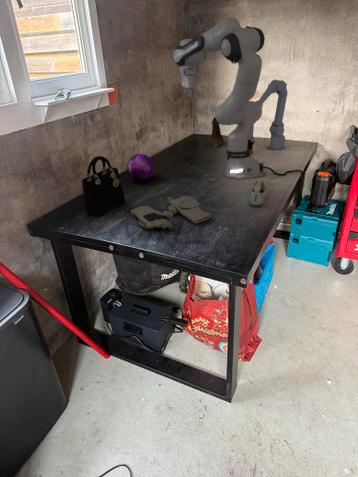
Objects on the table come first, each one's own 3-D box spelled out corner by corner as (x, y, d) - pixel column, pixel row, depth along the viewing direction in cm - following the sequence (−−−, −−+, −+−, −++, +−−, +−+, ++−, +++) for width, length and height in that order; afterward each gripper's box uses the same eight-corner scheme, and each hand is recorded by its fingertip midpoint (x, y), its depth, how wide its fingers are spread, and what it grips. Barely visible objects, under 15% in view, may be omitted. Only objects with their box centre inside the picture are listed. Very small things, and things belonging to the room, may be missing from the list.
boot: (224, 140, 260) (225, 113, 250) (221, 148, 240) (222, 119, 230) (213, 140, 262) (213, 113, 252) (210, 148, 242) (209, 119, 232)
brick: (250, 151, 230) (250, 144, 228) (252, 152, 227) (252, 146, 225) (243, 151, 230) (243, 145, 227) (245, 153, 226) (245, 146, 224)
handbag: (98, 217, 149) (87, 164, 137) (84, 214, 154) (72, 161, 141) (127, 201, 164) (120, 151, 152) (113, 198, 169) (105, 149, 156)
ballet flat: (269, 188, 169) (270, 173, 165) (265, 208, 149) (266, 191, 145) (252, 187, 171) (253, 172, 167) (246, 206, 151) (247, 190, 147)
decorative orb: (160, 177, 192) (157, 152, 184) (144, 186, 181) (141, 159, 174) (139, 174, 199) (137, 149, 192) (123, 182, 189) (119, 156, 181)
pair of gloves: (147, 237, 131) (146, 225, 129) (129, 213, 152) (128, 202, 149) (214, 220, 141) (214, 209, 138) (188, 199, 162) (188, 189, 159)
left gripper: (178, 70, 202) (179, 94, 209) (186, 72, 185) (187, 98, 192) (188, 69, 203) (189, 93, 210) (197, 71, 186) (197, 97, 193)
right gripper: (239, 128, 226) (238, 148, 233) (247, 132, 214) (246, 153, 221) (249, 127, 227) (248, 147, 234) (257, 131, 215) (256, 152, 222)
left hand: (188, 96), depth 201 cm, fingers open, 8 cm apart
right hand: (248, 150), depth 228 cm, fingers closed on brick, 4 cm apart
